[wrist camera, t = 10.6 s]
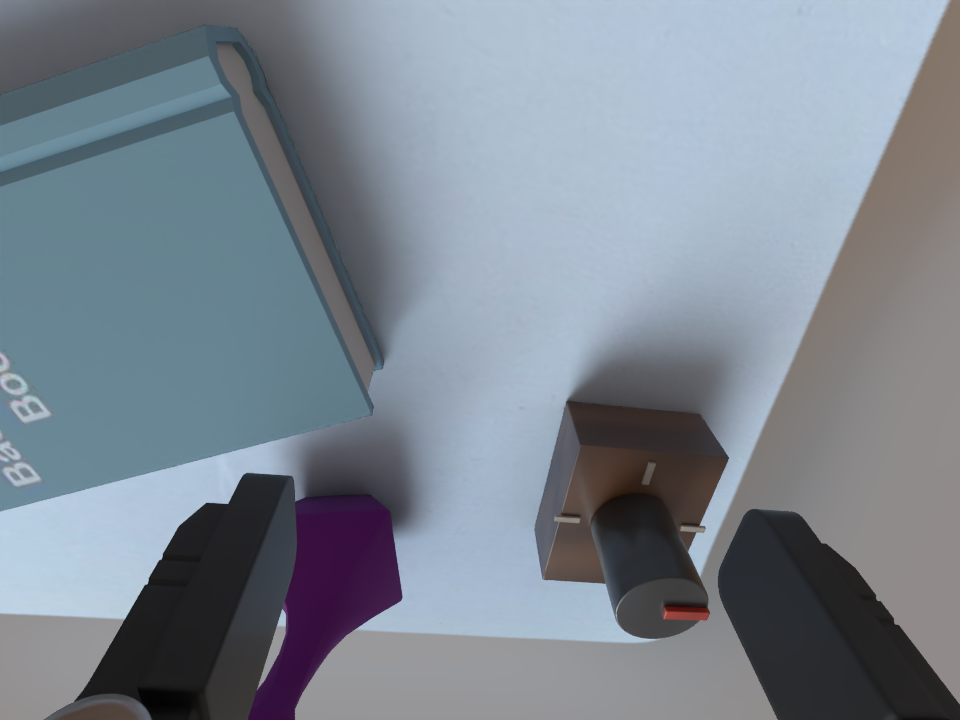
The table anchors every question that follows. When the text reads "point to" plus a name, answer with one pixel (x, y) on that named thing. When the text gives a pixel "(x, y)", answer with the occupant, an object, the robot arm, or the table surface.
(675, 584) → the dial
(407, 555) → the table surface
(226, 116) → the book
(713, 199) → the table surface
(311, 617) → the perfume bottle
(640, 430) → the dial panel
